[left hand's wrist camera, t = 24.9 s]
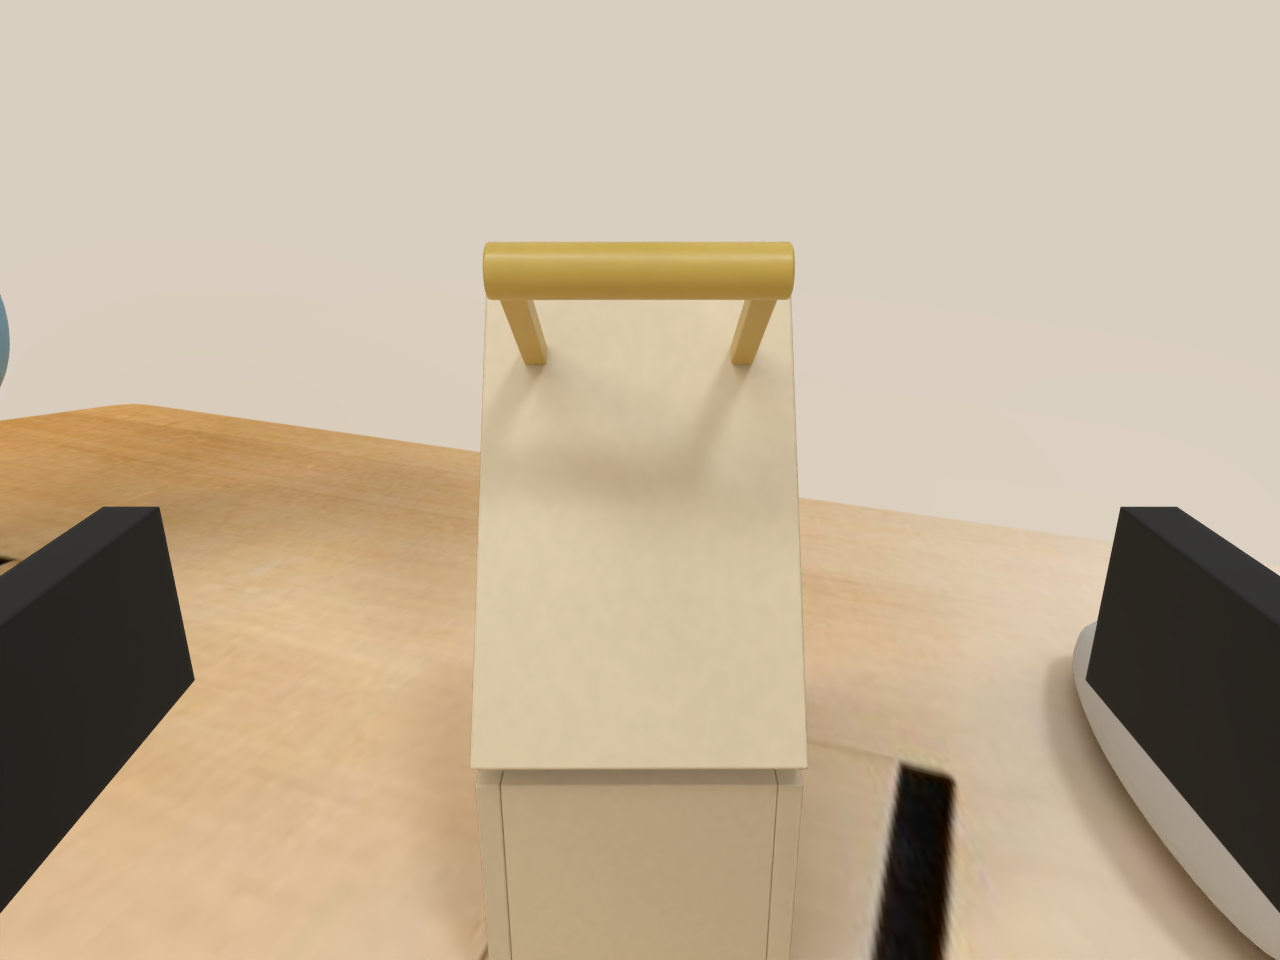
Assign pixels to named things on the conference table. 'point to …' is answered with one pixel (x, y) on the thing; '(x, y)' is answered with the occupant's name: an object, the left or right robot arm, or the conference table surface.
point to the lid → (638, 510)
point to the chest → (639, 863)
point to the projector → (1177, 817)
